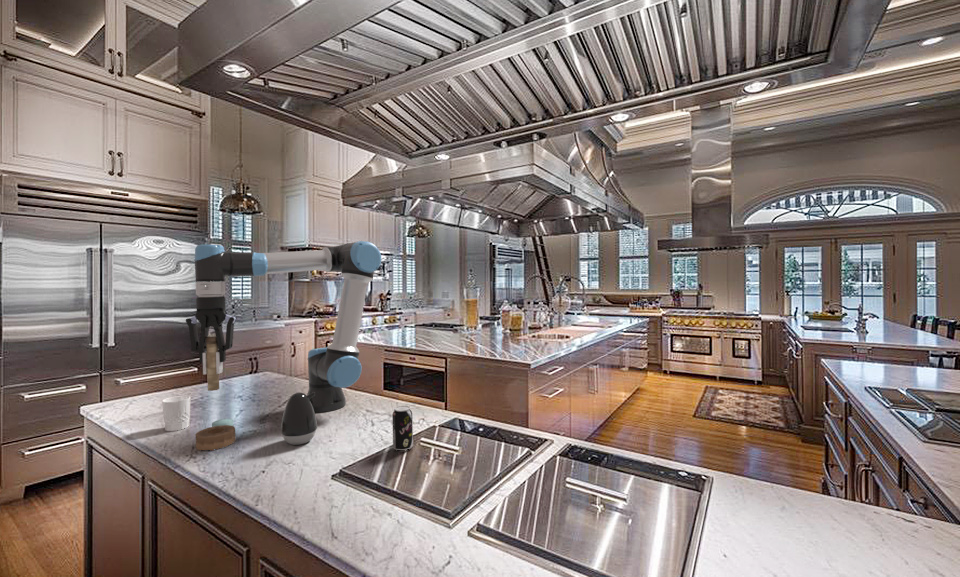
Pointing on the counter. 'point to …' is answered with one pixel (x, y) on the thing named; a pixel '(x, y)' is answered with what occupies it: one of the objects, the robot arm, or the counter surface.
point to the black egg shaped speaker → (299, 419)
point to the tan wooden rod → (212, 363)
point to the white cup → (176, 412)
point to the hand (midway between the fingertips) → (213, 373)
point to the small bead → (223, 422)
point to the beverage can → (402, 428)
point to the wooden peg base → (215, 437)
